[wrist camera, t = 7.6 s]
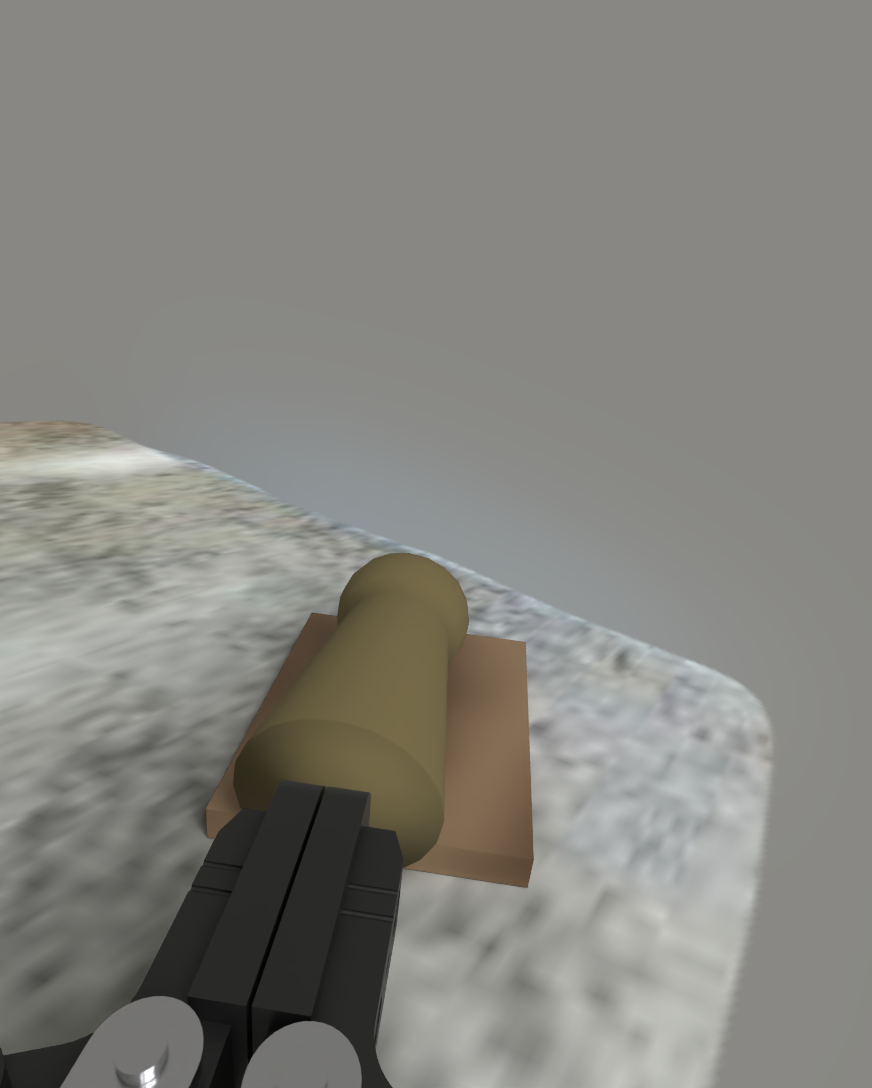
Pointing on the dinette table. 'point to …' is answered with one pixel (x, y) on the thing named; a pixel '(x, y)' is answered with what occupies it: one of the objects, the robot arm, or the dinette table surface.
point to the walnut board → (451, 758)
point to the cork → (371, 703)
